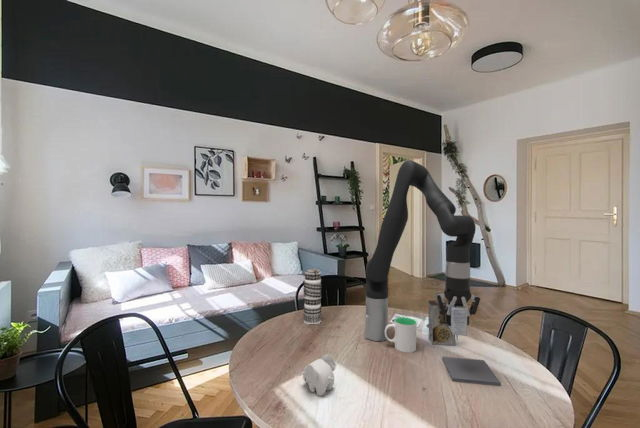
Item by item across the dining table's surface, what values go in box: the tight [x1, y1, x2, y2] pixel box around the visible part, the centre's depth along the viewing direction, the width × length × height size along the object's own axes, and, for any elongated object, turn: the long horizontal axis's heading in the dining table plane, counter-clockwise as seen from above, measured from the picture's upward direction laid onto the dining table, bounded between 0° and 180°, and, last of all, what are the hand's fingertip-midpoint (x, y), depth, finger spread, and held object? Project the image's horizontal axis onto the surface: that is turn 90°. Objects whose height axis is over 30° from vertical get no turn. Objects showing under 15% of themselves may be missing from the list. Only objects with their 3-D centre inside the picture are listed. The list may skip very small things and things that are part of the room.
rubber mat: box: [441, 356, 502, 387], centre depth 100 cm, size 14×14×1 cm
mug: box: [385, 316, 417, 353], centre depth 118 cm, size 12×8×10 cm, turn 86°
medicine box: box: [448, 305, 468, 336], centre depth 101 cm, size 8×4×9 cm, turn 169°
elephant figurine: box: [298, 353, 337, 397], centre depth 91 cm, size 10×12×9 cm
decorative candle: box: [302, 267, 323, 325], centre depth 144 cm, size 9×9×25 cm
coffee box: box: [427, 300, 456, 346], centre depth 123 cm, size 9×6×16 cm
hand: (457, 325), depth 101 cm, fingers closed on medicine box, 4 cm apart
